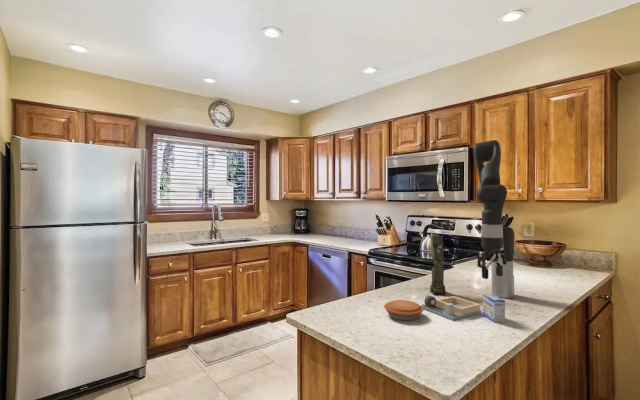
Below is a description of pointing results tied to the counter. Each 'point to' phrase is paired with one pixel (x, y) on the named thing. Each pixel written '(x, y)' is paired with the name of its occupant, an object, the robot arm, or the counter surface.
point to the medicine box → (493, 308)
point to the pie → (403, 310)
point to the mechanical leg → (437, 266)
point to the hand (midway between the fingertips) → (492, 277)
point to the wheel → (430, 301)
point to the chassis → (454, 308)
